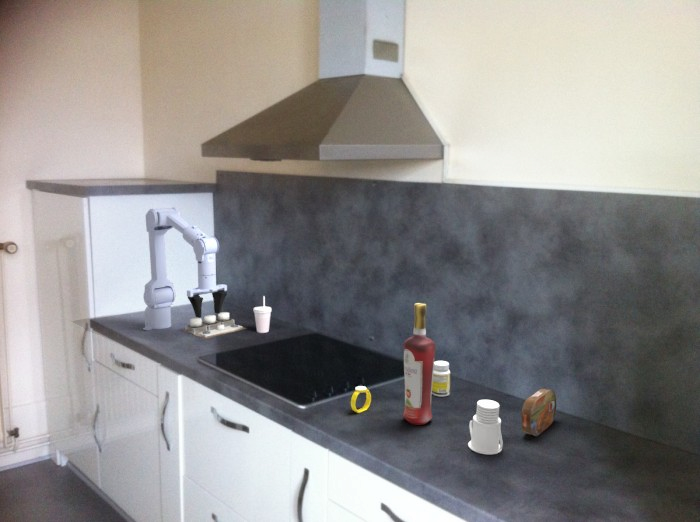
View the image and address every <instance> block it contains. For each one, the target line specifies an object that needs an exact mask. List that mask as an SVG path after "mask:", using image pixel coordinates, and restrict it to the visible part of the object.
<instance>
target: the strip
mask: <svg viewBox="0 0 700 522" xmlns="http://www.w3.org/2000/svg"><path fill="white" fill-rule="evenodd" d="M243 327H244V326H242V325H239V324H235V325H231V326H227V327H224V325H217V329H214V330H209V331H204V332H201V333H198V335H201V336H204V337H207V336H211V335H216V334H220V333H224V332H228V331H232V330H236V329H240V328H243Z"/></svg>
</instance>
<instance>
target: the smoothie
mask: <svg viewBox="0 0 700 522" xmlns="http://www.w3.org/2000/svg"><path fill="white" fill-rule="evenodd" d="M262 302H263V303H262V305H263V306H255V307H253V309H252V310H253V311H252V312H253V313H254V321H255V327H256V332H257V333H259V334H264V333H268V332H269V330H270V324H271V323H270V322H271V313H272V312H273V311H272V307H271V306H268V305H267V306H266V297H265V295H263V296H262Z"/></svg>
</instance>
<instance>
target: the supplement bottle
mask: <svg viewBox="0 0 700 522" xmlns="http://www.w3.org/2000/svg"><path fill="white" fill-rule="evenodd" d="M450 394H451V371H450V363H449V362H448V361H445V360H436V361H435V360H434V370H433V381H432V395H433V396H436V397H442V398H443V397H448V396H449V395H450Z"/></svg>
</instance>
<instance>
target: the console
mask: <svg viewBox="0 0 700 522" xmlns="http://www.w3.org/2000/svg"><path fill="white" fill-rule="evenodd" d="M217 325H224V327H227V326H231V325H235V319H234V318H230V317H229V320H225V321H221V320H218V318H216V323H212V324H206V323H204V321H202V326H199V327H191V326H190V324H188V325H185V326H184V329H183V330H181V332H183V333H186V334H190V335H193V336H196V337H198V338H199V337H200V338H204V339H210V338H213V337H217V336H221V335H226V334H229V333H234V332H238V331H241V330H242V331H243V330H247V329H248V328H247V327H244V326H243V328H240V329H236V330H232V331H228V332H224V333H220V334H216V335H211V336H207V337H204V336H201V335H198V333H201V332H204V331H209V330H214V329H217Z"/></svg>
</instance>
